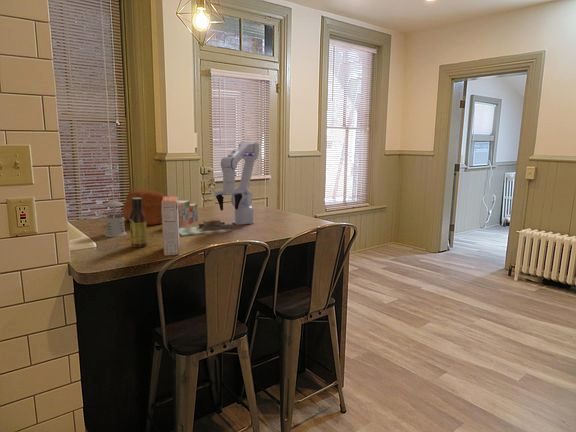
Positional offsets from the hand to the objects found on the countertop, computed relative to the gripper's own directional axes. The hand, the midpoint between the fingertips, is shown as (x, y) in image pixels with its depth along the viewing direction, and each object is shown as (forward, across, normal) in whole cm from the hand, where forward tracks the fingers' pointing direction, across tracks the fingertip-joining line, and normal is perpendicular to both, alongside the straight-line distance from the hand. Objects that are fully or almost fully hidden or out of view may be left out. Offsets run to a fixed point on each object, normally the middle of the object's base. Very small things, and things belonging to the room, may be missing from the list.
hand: (229, 209), depth 202 cm
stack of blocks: (+10, -18, +20) cm, 28 cm away
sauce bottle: (+10, -45, -18) cm, 49 cm away
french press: (+10, -51, +9) cm, 53 cm away
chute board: (+10, -13, 0) cm, 16 cm away
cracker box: (+10, -35, -30) cm, 47 cm away
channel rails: (+9, -8, 0) cm, 12 cm away
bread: (+10, -34, +33) cm, 48 cm away
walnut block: (+9, -9, 0) cm, 12 cm away
